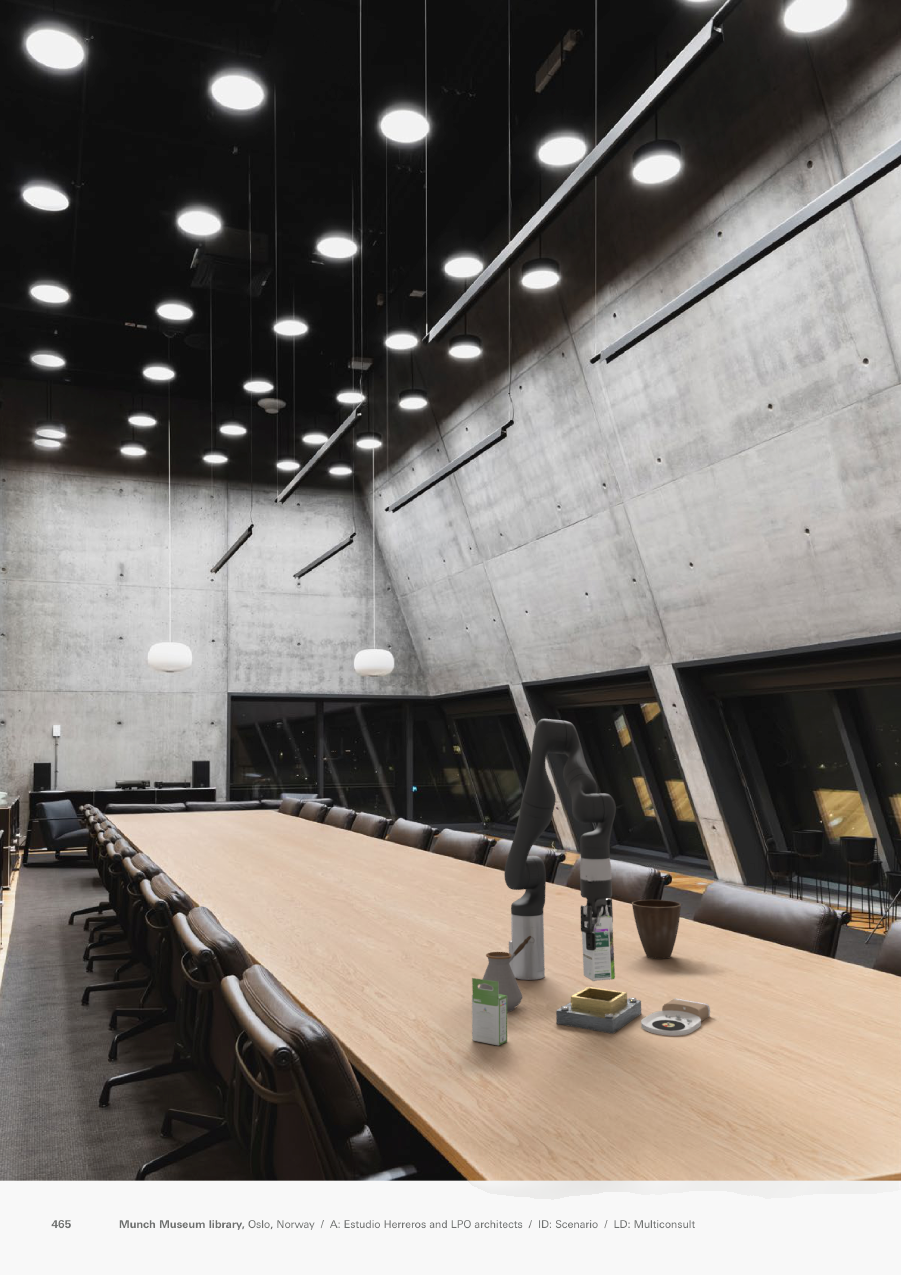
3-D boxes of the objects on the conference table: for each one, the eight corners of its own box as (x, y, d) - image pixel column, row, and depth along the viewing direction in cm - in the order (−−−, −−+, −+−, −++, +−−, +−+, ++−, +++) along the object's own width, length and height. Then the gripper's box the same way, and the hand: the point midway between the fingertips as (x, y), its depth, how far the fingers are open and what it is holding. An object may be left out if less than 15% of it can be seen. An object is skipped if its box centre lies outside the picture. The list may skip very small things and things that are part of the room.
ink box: (508, 1042, 192) (507, 978, 194) (499, 1047, 189) (498, 982, 191) (481, 1036, 196) (480, 974, 198) (471, 1041, 193) (471, 977, 194)
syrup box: (593, 981, 206) (591, 918, 208) (582, 975, 212) (580, 913, 214) (615, 980, 208) (613, 916, 210) (604, 974, 213) (602, 912, 215)
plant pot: (623, 954, 276) (622, 901, 278) (662, 949, 282) (660, 898, 284) (654, 964, 262) (652, 908, 265) (693, 958, 269) (691, 905, 271)
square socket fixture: (556, 1024, 205) (556, 999, 205) (587, 1005, 220) (587, 982, 220) (613, 1033, 197) (612, 1008, 198) (641, 1013, 212) (640, 990, 213)
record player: (714, 1005, 209) (681, 1027, 194) (715, 1018, 209) (681, 1042, 193) (668, 997, 216) (632, 1018, 201) (668, 1010, 216) (632, 1032, 200)
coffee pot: (505, 1018, 210) (505, 952, 212) (467, 1009, 217) (466, 946, 219) (551, 998, 227) (550, 938, 229) (514, 991, 233) (513, 932, 235)
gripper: (593, 872, 221) (595, 940, 219) (569, 879, 209) (571, 950, 207) (621, 874, 217) (623, 943, 215) (598, 881, 205) (600, 954, 203)
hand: (597, 946), depth 211 cm, fingers closed on syrup box, 8 cm apart
